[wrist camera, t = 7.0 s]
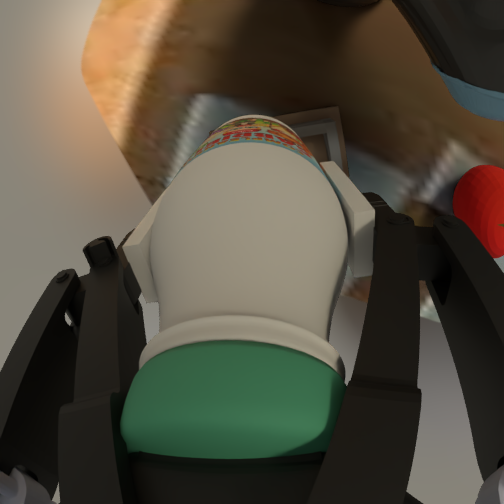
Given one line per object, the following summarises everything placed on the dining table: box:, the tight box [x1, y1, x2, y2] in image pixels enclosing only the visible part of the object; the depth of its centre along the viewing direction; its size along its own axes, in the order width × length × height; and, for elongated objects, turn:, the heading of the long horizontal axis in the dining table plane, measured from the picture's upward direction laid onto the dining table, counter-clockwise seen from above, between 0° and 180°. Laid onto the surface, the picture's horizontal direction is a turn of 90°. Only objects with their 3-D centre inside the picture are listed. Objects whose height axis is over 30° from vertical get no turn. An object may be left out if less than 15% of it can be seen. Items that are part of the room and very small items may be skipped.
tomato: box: [453, 165, 504, 258], centre depth 33 cm, size 12×14×11 cm
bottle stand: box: [209, 106, 349, 178], centre depth 37 cm, size 16×16×4 cm
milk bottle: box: [120, 115, 348, 459], centre depth 13 cm, size 8×8×20 cm
